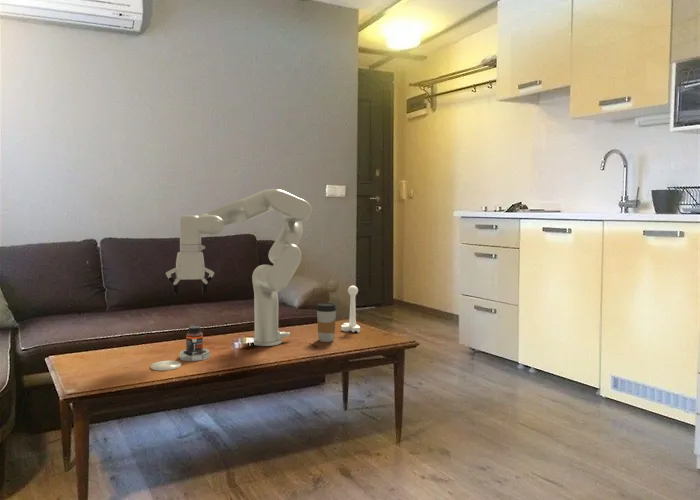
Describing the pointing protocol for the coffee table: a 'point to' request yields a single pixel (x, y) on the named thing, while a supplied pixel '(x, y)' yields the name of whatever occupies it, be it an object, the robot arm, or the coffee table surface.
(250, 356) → the coffee table surface
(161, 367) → the coaster
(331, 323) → the coffee cup
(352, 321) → the joystick
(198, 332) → the supplement bottle
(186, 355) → the ring holder
